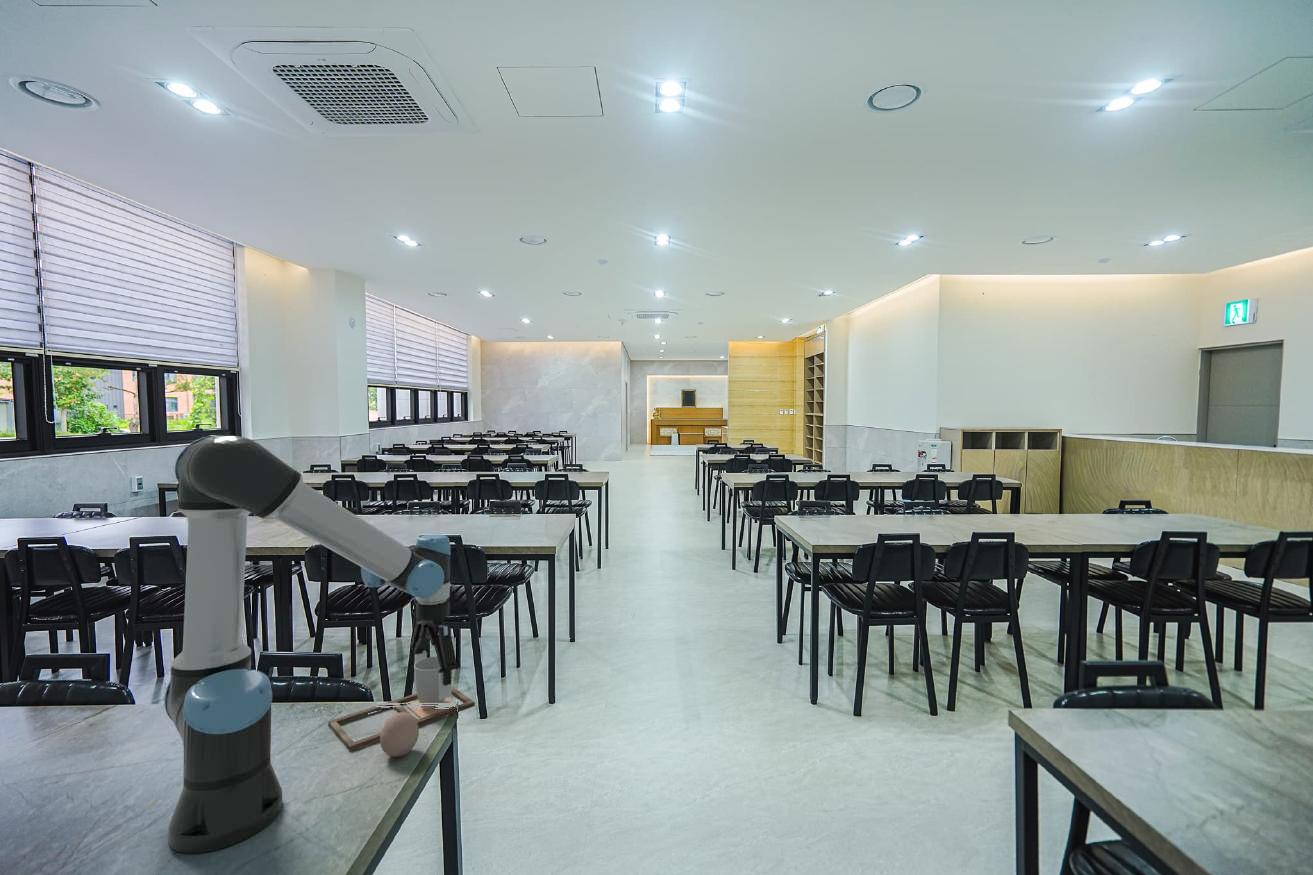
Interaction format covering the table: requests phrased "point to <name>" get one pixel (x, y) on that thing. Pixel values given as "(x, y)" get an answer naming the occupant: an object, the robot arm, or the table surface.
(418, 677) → the cup
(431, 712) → the pad
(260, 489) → the robot arm
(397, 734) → the egg
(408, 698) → the brown wooden divided frame
